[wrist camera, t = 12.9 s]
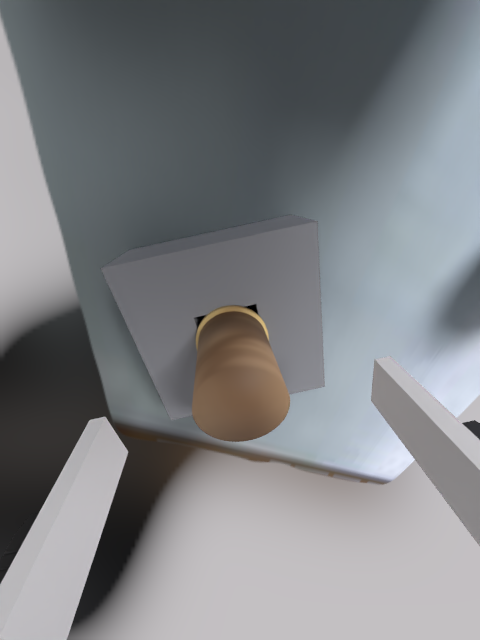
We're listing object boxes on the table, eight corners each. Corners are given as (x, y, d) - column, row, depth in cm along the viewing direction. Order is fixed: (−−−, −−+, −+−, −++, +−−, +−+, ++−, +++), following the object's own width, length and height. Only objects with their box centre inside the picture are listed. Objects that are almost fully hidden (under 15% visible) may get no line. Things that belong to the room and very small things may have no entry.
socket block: (290, 214, 21) (317, 221, 16) (302, 349, 27) (324, 386, 22) (128, 249, 21) (100, 268, 16) (179, 376, 27) (170, 420, 22)
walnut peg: (250, 274, 23) (288, 354, 11) (259, 324, 25) (297, 432, 14) (193, 286, 23) (173, 379, 11) (207, 335, 25) (203, 452, 14)
